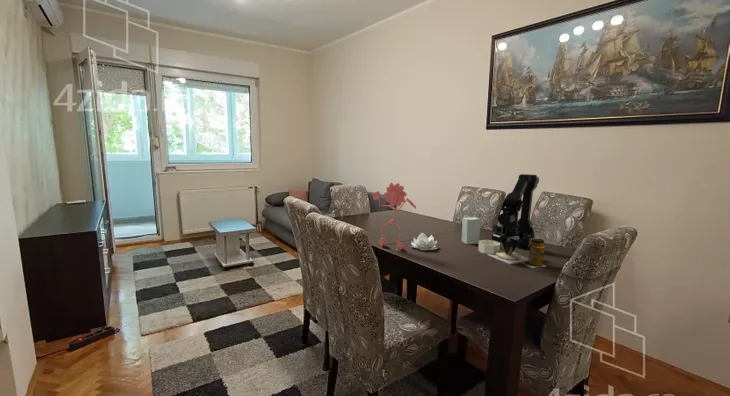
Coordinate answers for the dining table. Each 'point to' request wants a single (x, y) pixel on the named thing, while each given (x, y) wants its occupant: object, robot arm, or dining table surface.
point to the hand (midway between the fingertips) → (508, 253)
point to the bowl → (488, 247)
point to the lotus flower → (424, 242)
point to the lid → (509, 255)
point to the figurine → (393, 197)
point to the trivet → (509, 259)
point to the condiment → (536, 254)
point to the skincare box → (471, 230)
